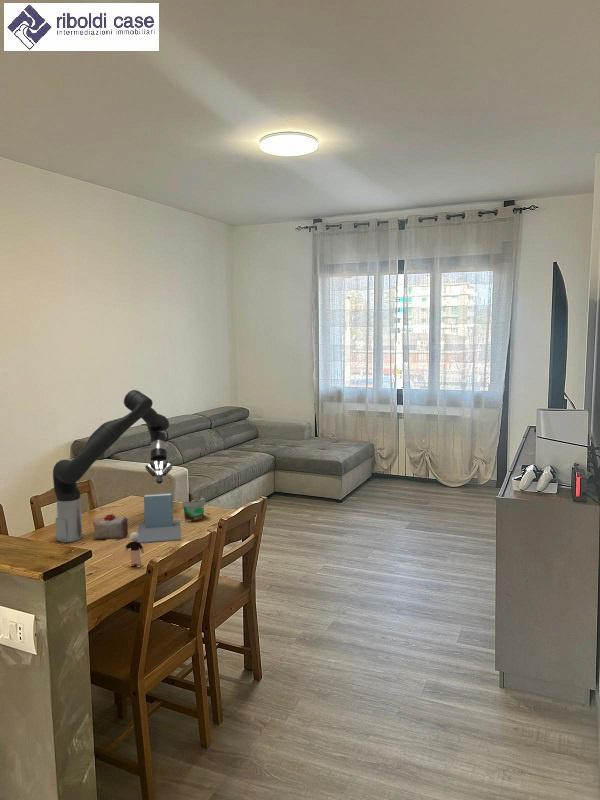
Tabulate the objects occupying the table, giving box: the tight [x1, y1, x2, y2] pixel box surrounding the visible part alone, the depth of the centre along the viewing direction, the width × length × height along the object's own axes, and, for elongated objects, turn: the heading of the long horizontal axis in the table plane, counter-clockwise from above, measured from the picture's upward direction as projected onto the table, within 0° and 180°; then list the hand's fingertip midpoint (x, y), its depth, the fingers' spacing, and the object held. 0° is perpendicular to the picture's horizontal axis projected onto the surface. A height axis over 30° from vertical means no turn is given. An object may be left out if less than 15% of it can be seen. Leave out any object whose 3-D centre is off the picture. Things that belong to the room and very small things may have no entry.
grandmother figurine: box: [124, 531, 145, 567], centre depth 216 cm, size 8×4×13 cm, turn 88°
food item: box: [92, 513, 129, 540], centre depth 248 cm, size 14×8×10 cm, turn 90°
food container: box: [182, 495, 206, 523], centre depth 269 cm, size 12×6×10 cm, turn 146°
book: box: [143, 492, 174, 528], centre depth 260 cm, size 4×12×14 cm, turn 102°
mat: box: [136, 519, 182, 545], centre depth 254 cm, size 26×18×1 cm
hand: (159, 482), depth 273 cm, fingers closed
